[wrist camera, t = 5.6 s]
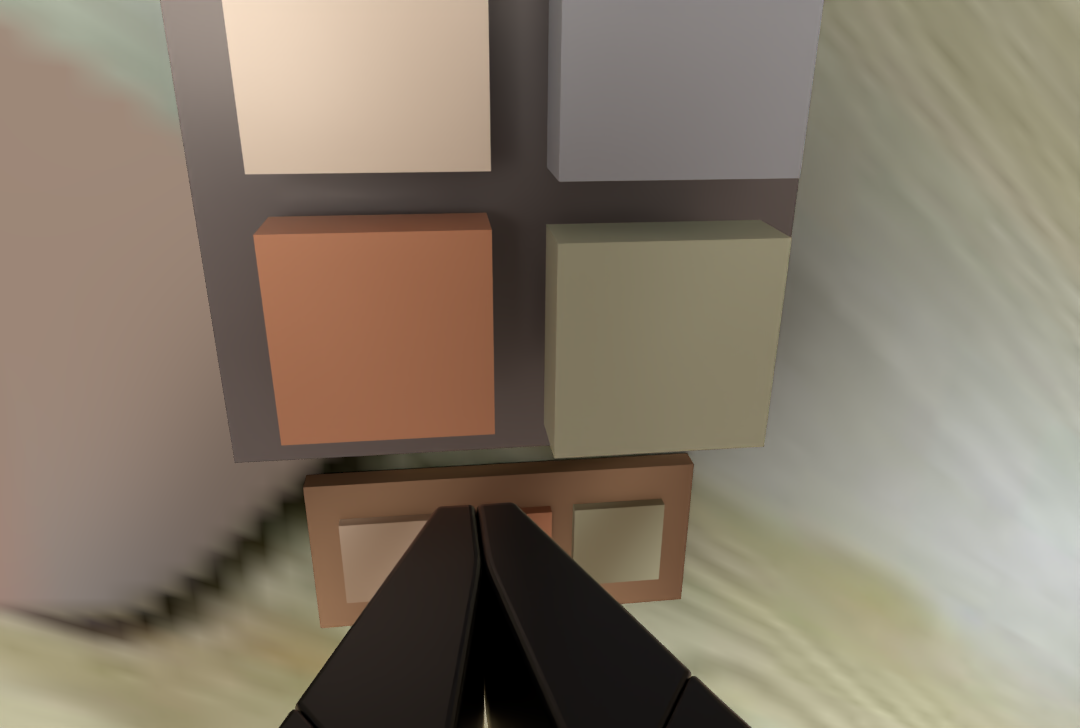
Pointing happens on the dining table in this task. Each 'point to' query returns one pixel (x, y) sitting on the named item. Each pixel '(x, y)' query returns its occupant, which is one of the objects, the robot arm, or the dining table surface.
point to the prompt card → (535, 487)
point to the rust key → (379, 325)
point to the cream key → (361, 85)
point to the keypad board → (503, 193)
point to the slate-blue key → (679, 88)
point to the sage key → (661, 335)
